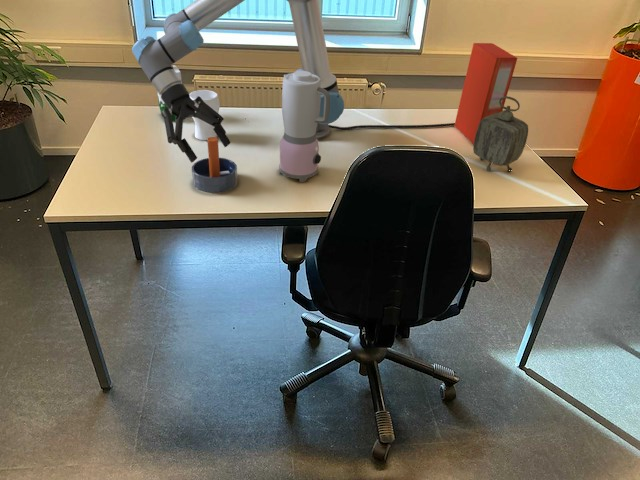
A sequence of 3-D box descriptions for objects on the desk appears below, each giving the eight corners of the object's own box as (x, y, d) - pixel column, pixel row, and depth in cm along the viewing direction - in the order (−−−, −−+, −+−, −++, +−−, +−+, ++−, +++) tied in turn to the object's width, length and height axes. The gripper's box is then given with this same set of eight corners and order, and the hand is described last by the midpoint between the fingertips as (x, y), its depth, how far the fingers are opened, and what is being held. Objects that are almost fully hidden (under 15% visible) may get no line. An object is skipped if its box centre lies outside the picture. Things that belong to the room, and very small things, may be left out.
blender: (271, 174, 166) (271, 74, 147) (291, 160, 174) (294, 63, 156) (314, 189, 160) (320, 86, 141) (333, 173, 169) (341, 75, 150)
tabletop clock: (516, 172, 177) (538, 101, 162) (503, 181, 171) (524, 108, 157) (479, 157, 185) (497, 88, 170) (465, 164, 180) (482, 93, 165)
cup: (224, 131, 190) (222, 90, 181) (216, 143, 181) (214, 101, 173) (195, 128, 191) (192, 88, 182) (186, 140, 182) (182, 98, 173)
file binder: (472, 125, 208) (493, 43, 189) (493, 144, 194) (517, 57, 176) (454, 126, 206) (472, 43, 188) (473, 145, 193) (495, 57, 174)
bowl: (242, 175, 164) (241, 159, 161) (230, 196, 153) (230, 180, 150) (201, 171, 165) (199, 155, 162) (187, 191, 154) (185, 175, 151)
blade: (227, 176, 162) (225, 134, 154) (231, 183, 159) (229, 140, 151) (199, 180, 159) (195, 137, 151) (202, 187, 156) (198, 144, 148)
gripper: (197, 85, 163) (234, 144, 165) (131, 107, 146) (173, 172, 148) (208, 72, 157) (246, 133, 159) (141, 93, 140) (184, 161, 142)
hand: (211, 152), depth 153 cm, fingers open, 13 cm apart
